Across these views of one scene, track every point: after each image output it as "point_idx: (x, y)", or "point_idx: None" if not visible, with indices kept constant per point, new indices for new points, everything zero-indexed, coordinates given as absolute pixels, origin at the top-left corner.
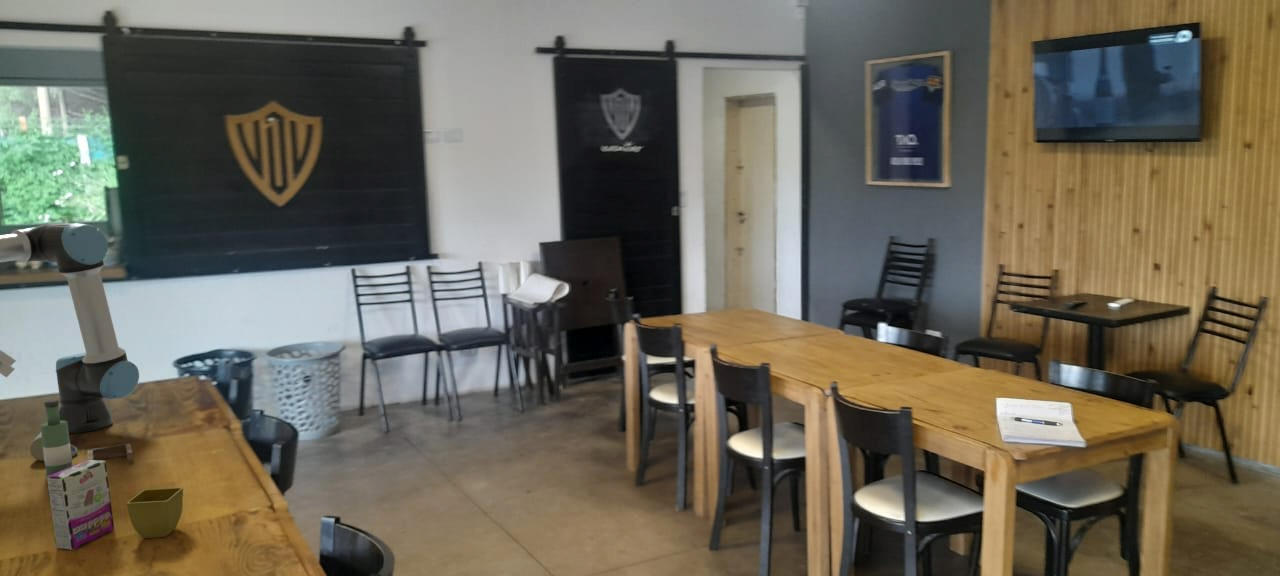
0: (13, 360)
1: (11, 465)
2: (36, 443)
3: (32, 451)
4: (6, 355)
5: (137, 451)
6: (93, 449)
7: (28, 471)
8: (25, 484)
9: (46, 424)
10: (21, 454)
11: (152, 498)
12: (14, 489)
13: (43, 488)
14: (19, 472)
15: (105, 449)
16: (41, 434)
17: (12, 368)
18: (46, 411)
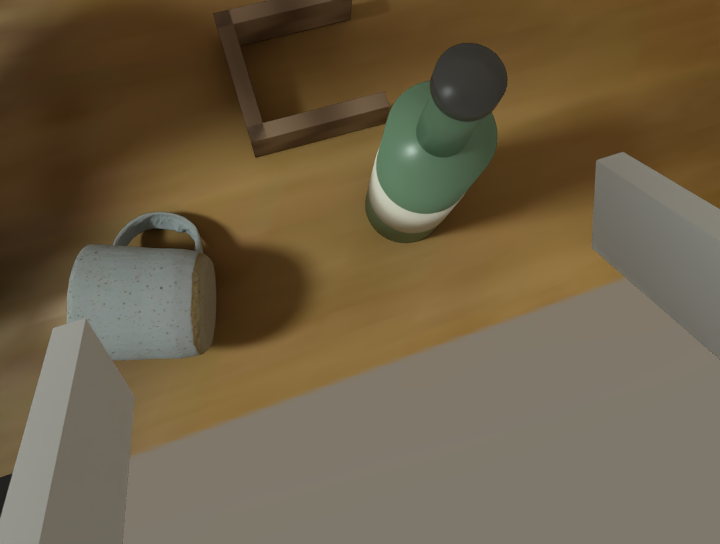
0: (87, 340)
1: (218, 421)
2: (204, 322)
3: (210, 342)
4: (75, 405)
5: (203, 20)
6: (254, 122)
7: (321, 328)
8: (473, 287)
9: (440, 164)
10: None
11: None
12: (516, 305)
13: (532, 215)
14: (323, 357)
15: (251, 87)
16: (456, 194)
17: (638, 163)
18: (477, 123)
